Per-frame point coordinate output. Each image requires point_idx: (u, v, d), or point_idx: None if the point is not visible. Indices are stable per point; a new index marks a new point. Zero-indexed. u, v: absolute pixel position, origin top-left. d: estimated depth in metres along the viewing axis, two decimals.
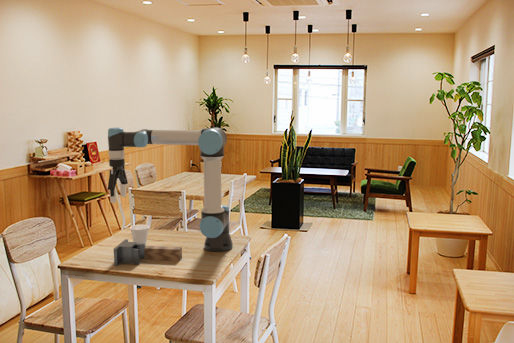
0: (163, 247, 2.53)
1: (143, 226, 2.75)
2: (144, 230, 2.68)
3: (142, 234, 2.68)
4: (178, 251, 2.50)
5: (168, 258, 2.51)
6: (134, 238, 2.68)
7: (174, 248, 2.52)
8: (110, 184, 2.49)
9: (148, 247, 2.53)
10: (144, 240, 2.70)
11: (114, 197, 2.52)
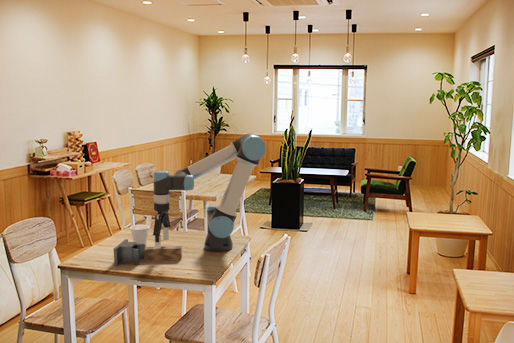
0: (163, 247, 2.53)
1: (143, 226, 2.75)
2: (144, 230, 2.68)
3: (142, 234, 2.68)
4: (179, 250, 2.52)
5: (169, 258, 2.52)
6: (134, 238, 2.68)
7: (175, 247, 2.54)
8: (156, 230, 2.42)
9: (148, 248, 2.52)
10: (144, 240, 2.70)
11: (159, 243, 2.45)
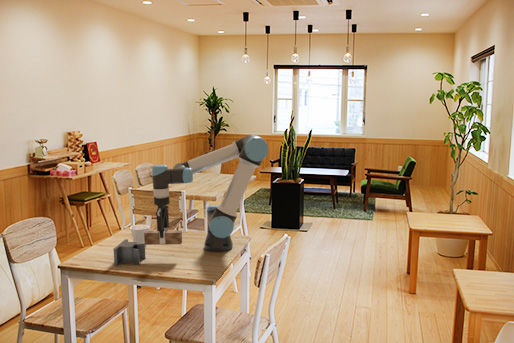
0: None
1: (143, 226, 2.75)
2: (144, 230, 2.68)
3: (142, 234, 2.68)
4: (179, 234, 2.50)
5: (169, 242, 2.50)
6: (134, 238, 2.68)
7: (175, 231, 2.52)
8: (159, 226, 2.45)
9: (148, 232, 2.51)
10: None
11: (163, 238, 2.49)
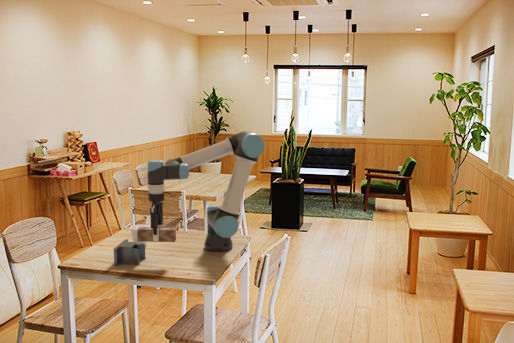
0: None
1: (143, 226, 2.75)
2: None
3: None
4: (173, 232, 2.44)
5: (162, 239, 2.45)
6: (134, 238, 2.68)
7: (169, 228, 2.46)
8: (153, 223, 2.40)
9: (141, 228, 2.46)
10: None
11: (157, 235, 2.44)
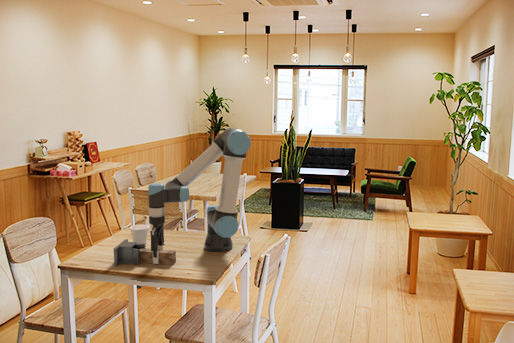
0: None
1: (143, 226, 2.75)
2: (144, 230, 2.68)
3: (142, 234, 2.68)
4: (171, 255, 2.45)
5: (161, 262, 2.46)
6: (134, 238, 2.68)
7: (168, 251, 2.47)
8: (153, 246, 2.41)
9: (142, 250, 2.49)
10: (144, 240, 2.70)
11: (157, 258, 2.44)
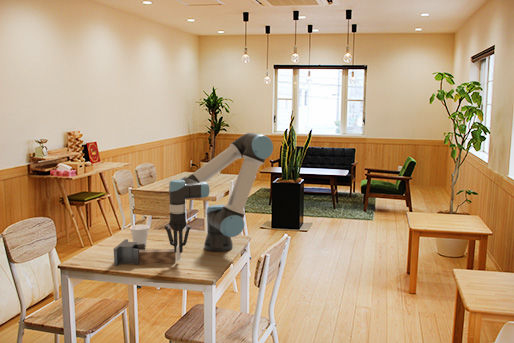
0: (156, 250, 2.49)
1: (143, 226, 2.75)
2: (144, 230, 2.68)
3: (142, 234, 2.68)
4: (173, 253, 2.47)
5: (163, 261, 2.47)
6: (134, 238, 2.68)
7: (169, 250, 2.49)
8: None
9: (141, 251, 2.47)
10: (144, 240, 2.70)
11: None
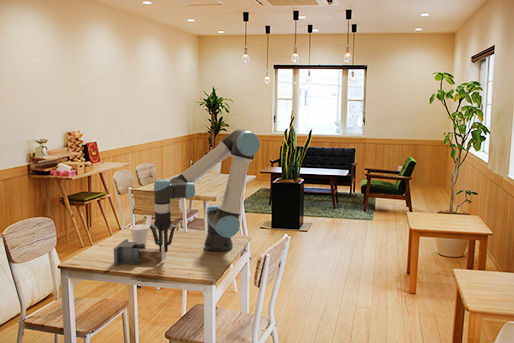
0: (143, 249, 2.50)
1: (143, 226, 2.75)
2: (144, 230, 2.68)
3: (142, 234, 2.68)
4: (158, 253, 2.47)
5: (148, 260, 2.48)
6: (134, 238, 2.68)
7: (154, 250, 2.49)
8: None
9: None
10: (144, 240, 2.70)
11: None
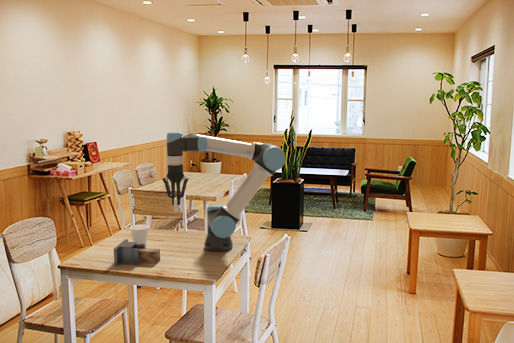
0: (141, 249, 2.50)
1: (143, 226, 2.75)
2: (144, 230, 2.68)
3: (142, 234, 2.68)
4: (156, 253, 2.47)
5: (146, 260, 2.48)
6: (134, 238, 2.68)
7: (152, 250, 2.49)
8: None
9: None
10: (144, 240, 2.70)
11: None
